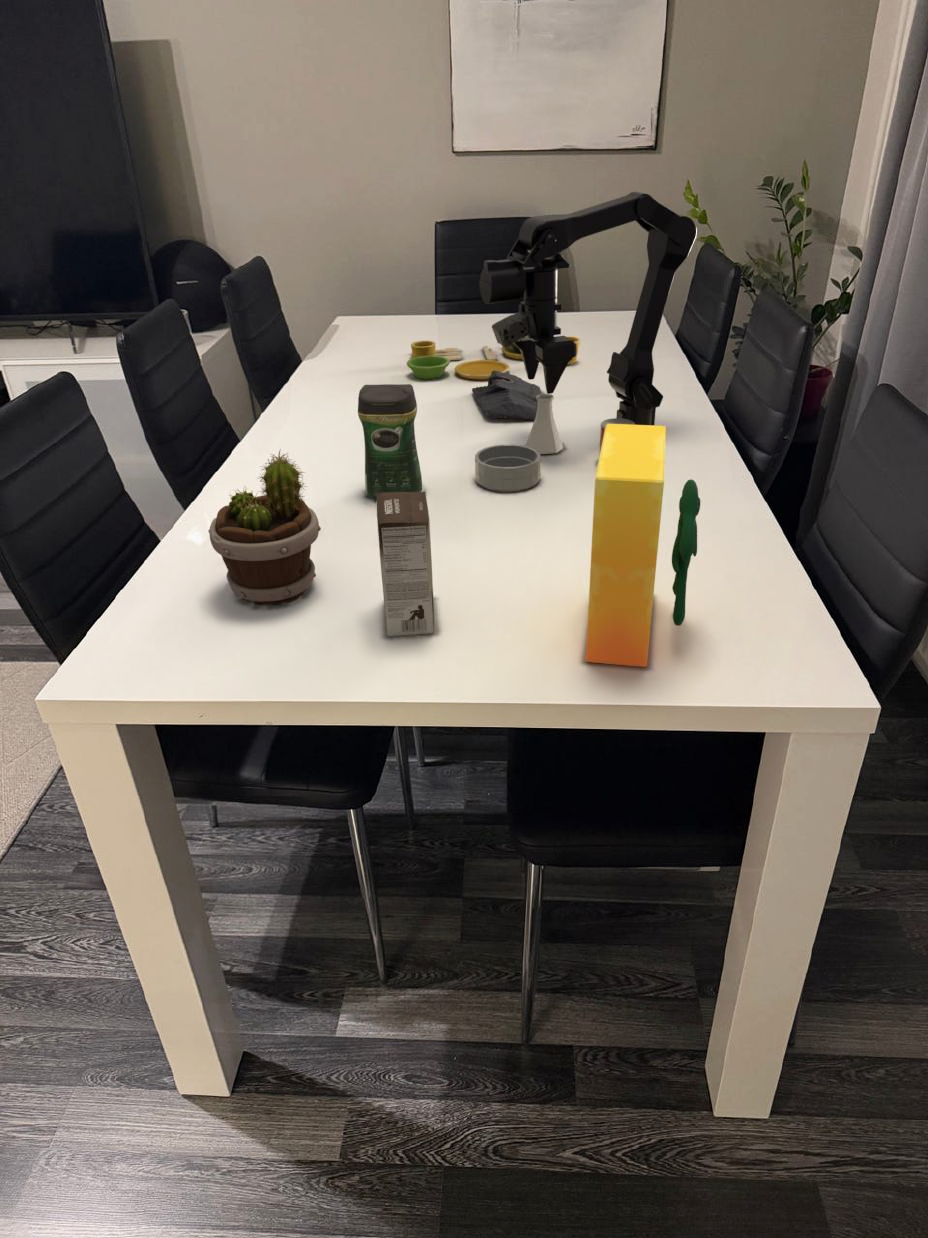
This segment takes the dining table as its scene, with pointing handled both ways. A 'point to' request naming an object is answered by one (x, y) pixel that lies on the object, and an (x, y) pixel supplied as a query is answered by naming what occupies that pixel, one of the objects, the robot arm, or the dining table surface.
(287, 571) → the flowerpot
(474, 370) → the tableware set
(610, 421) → the tin can
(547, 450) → the flask
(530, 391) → the dark grey cloth
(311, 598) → the dining table surface
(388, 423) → the coffee jar
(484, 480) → the bowl
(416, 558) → the coffee box
